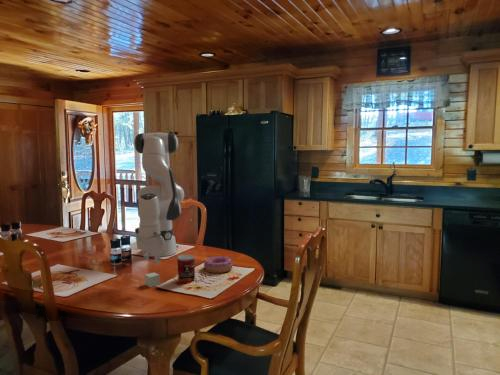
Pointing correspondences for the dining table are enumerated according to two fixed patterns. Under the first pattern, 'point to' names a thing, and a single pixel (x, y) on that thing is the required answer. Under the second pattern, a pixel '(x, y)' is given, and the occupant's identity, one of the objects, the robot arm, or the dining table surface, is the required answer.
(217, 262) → the donut
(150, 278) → the sage block
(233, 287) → the dining table surface
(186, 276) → the canned food
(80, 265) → the dining table surface
